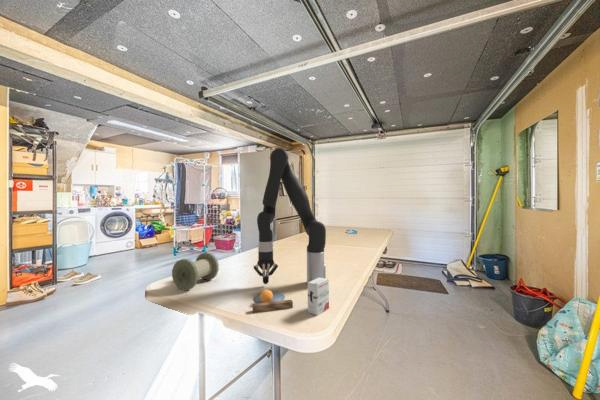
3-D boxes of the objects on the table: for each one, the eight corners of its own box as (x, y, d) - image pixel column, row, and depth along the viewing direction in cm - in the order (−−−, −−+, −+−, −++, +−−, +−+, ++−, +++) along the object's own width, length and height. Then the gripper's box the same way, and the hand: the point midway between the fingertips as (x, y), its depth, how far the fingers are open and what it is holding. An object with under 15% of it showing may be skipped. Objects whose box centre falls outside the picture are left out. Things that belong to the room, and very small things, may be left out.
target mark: (281, 290, 109) (281, 289, 109) (287, 302, 95) (287, 302, 95) (252, 293, 105) (252, 292, 105) (254, 306, 91) (254, 306, 91)
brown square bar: (291, 305, 92) (291, 299, 93) (292, 307, 91) (292, 301, 91) (252, 310, 88) (252, 304, 88) (252, 312, 86) (252, 306, 86)
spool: (195, 292, 106) (195, 261, 107) (171, 288, 111) (172, 258, 112) (218, 280, 122) (218, 253, 122) (196, 277, 127) (197, 251, 127)
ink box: (319, 304, 94) (319, 276, 94) (329, 308, 90) (329, 279, 91) (307, 312, 87) (307, 281, 87) (317, 316, 84) (317, 284, 84)
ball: (271, 288, 99) (272, 288, 94) (273, 301, 97) (274, 302, 92) (259, 290, 98) (258, 291, 93) (261, 304, 96) (260, 305, 91)
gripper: (253, 252, 108) (253, 287, 108) (279, 250, 112) (279, 285, 112) (252, 249, 116) (252, 282, 115) (277, 247, 119) (277, 280, 119)
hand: (265, 283), depth 114 cm, fingers closed
